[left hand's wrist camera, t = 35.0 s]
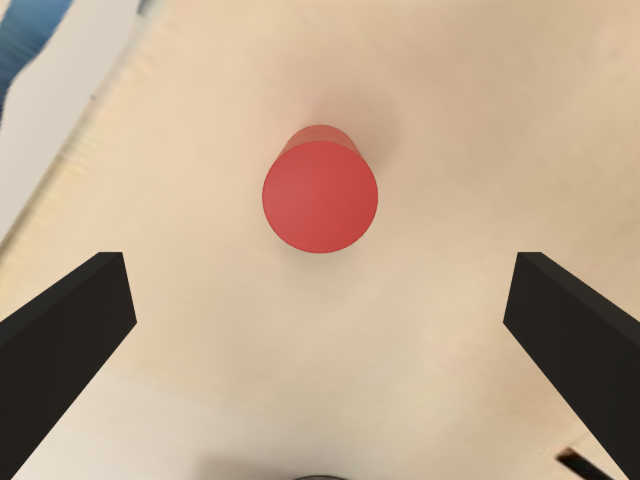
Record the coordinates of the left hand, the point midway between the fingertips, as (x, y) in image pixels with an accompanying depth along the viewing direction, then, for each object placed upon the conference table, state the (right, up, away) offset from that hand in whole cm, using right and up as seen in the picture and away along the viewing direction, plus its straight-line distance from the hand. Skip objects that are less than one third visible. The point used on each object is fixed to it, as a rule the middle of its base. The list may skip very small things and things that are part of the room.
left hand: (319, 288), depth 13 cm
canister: (0, +8, +21) cm, 22 cm away
